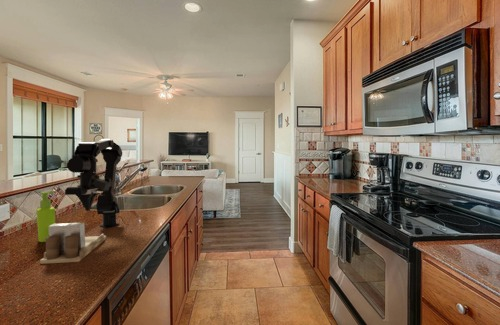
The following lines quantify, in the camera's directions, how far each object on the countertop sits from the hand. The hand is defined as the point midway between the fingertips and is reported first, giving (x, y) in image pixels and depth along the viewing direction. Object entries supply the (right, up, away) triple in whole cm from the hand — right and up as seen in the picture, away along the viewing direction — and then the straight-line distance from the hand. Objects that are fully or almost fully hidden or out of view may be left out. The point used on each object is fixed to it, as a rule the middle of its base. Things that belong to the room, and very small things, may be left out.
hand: (88, 210), depth 106 cm
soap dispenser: (-18, -13, +3) cm, 22 cm away
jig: (+1, -13, -9) cm, 16 cm away
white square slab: (+2, -12, -14) cm, 19 cm away
